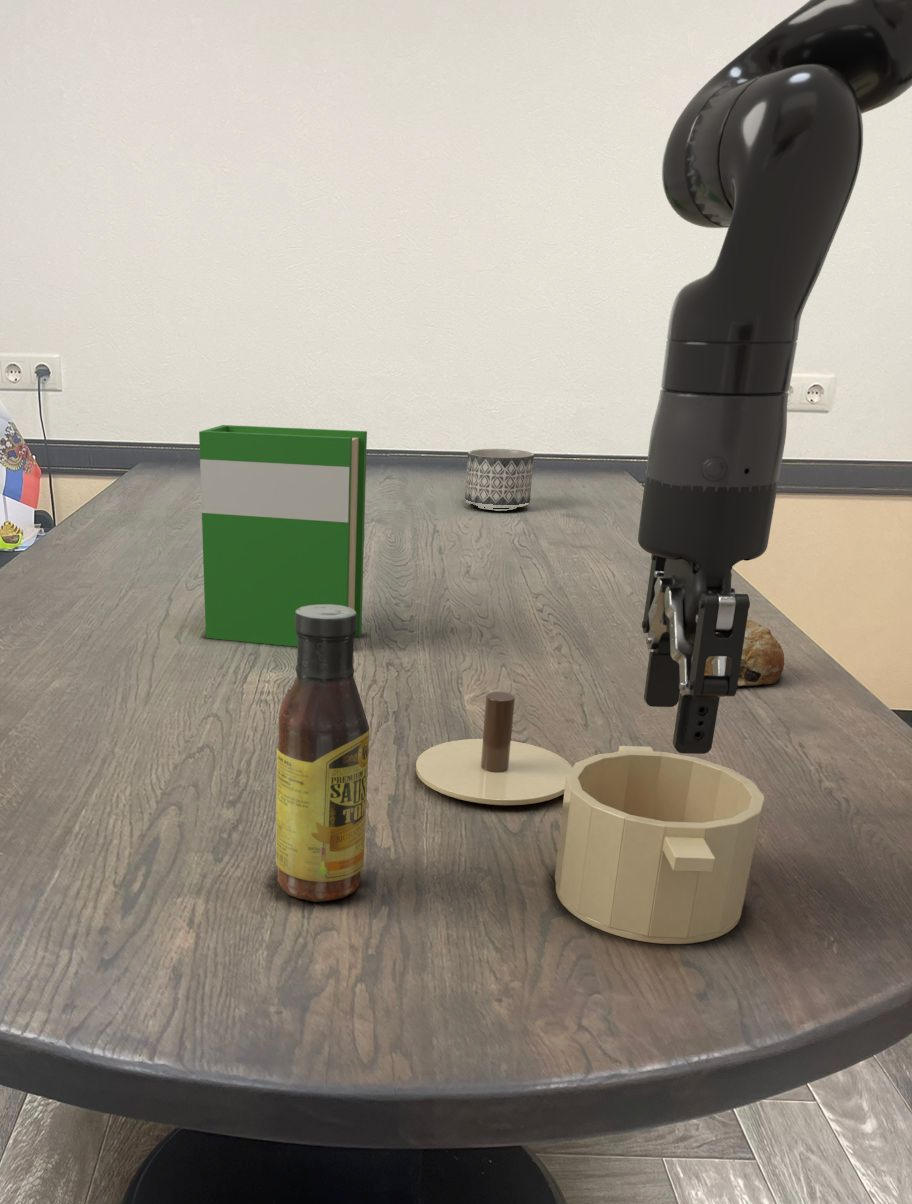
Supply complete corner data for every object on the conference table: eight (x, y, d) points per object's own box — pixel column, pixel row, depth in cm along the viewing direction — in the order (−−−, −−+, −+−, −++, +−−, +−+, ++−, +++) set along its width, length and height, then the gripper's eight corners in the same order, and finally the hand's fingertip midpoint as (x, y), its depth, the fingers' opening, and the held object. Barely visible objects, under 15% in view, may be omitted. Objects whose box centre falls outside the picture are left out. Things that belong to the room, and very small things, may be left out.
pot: (704, 842, 86) (722, 739, 82) (778, 971, 69) (805, 850, 66) (540, 836, 86) (551, 734, 83) (575, 963, 70) (590, 843, 66)
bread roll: (693, 714, 122) (717, 660, 116) (668, 651, 128) (688, 597, 122) (780, 712, 123) (808, 659, 117) (750, 649, 129) (775, 596, 123)
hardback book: (361, 634, 137) (367, 431, 126) (345, 651, 130) (349, 438, 120) (227, 622, 141) (222, 424, 131) (205, 637, 135) (199, 431, 125)
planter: (526, 503, 223) (531, 449, 219) (531, 514, 212) (536, 458, 207) (463, 501, 224) (467, 448, 220) (465, 512, 213) (469, 456, 209)
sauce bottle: (342, 914, 75) (349, 630, 67) (260, 894, 77) (257, 617, 69) (377, 873, 80) (388, 605, 72) (300, 855, 83) (301, 594, 75)
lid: (561, 751, 102) (570, 673, 99) (584, 815, 90) (595, 727, 87) (413, 747, 103) (417, 669, 100) (417, 809, 91) (421, 722, 87)
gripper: (818, 492, 59) (766, 771, 66) (741, 455, 72) (704, 692, 79) (675, 490, 59) (638, 768, 66) (624, 454, 72) (598, 690, 79)
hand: (674, 726), depth 72 cm, fingers open, 8 cm apart
